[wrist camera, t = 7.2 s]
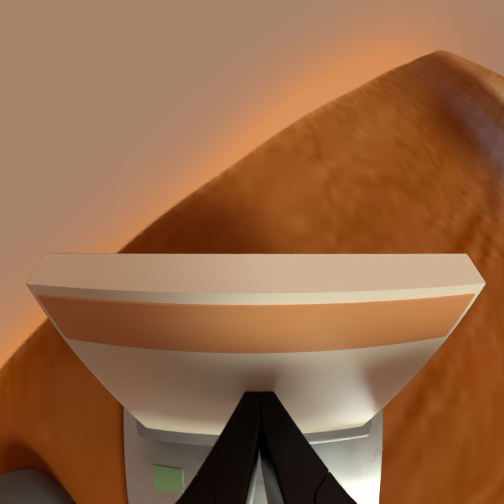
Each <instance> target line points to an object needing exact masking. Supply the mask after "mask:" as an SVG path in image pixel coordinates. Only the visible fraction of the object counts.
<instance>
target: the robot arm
mask: <svg viewBox="0 0 504 504" xmlns="http://www.w3.org/2000/svg"><path fill="white" fill-rule="evenodd" d="M259 453H260V463H261V469H262V475H263V480H264V486H265V492H266V498H267V503H268V504H358V503H357V502H356V501H355V500H354V499H353V498H352V497H351V496H350V495H349V494H348V493H347V492H346V491H345V489H344V488H343V487H342V486H341V485H340V483H339V482H338V481H337V480H336V478H335V477H334V476H333V474H332V473H331V472H328V471H329V469H328V468H327V467H326V465H325V464H324V463H323V461H322V460H321V458H320V457H319V456H318V454H317V453H316V452H315V450H314V449H313V447H312V446H311V445H310V443H309V442H308V440H307V439H306V438H305V436H304V435H303V433H302V432H301V430H300V429H299V428H298V426H297V425H296V423H295V422H294V420H293V419H292V417H291V416H290V415H289V413H288V412H287V410H286V409H285V407H284V406H283V404H282V403H281V401H280V400H279V398H278V397H277V395H276V394H275V392H274V391H261V392H257V391H246V392H244V394H243V395H242V397H241V399H240V401H239V403H238V404H237V406H236V408H235V410H234V411H233V413H232V415H231V417H230V418H229V420H228V422H227V424H226V425H225V427H224V429H223V430H222V432H221V434H220V436H219V437H218V439H217V441H216V442H215V444H214V446H213V447H212V449H211V451H210V452H209V454H208V456H207V457H206V459H205V460H204V462H203V464H202V465H201V467H200V469H199V470H198V472H197V475H195V476H194V478H193V479H192V481H191V483H190V484H189V486H188V487H187V488H186V490H185V491H184V493H183V494H182V495H181V497H180V498H179V499H178V500H177V502H176V503H175V504H253V497H254V490H255V483H256V476H257V469H258V461H259Z"/></svg>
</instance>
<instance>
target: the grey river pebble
mask: <svg viewBox="0 0 504 504" xmlns="http://www.w3.org/2000/svg"><path fill="white" fill-rule="evenodd" d="M0 504H76V503H75V502H74V500H73V499H72V498H71V497H70V495H69V494H68V493H67V492H66V491H65V490H64V489H63V488H62V487H61V486H60V485H59V484H58V483H57V482H56V481H54V480H53V479H52V478H50V477H49V476H47V475H46V474H44V473H42V472H40V471H37V470H34V469H22V470H17V471H13V472H7V473H4V474H2V475H1V476H0Z"/></svg>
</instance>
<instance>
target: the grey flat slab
mask: <svg viewBox="0 0 504 504" xmlns="http://www.w3.org/2000/svg"><path fill="white" fill-rule="evenodd" d="M371 419H372V424H371V430H370V433H369V435H368V436H366V437H360V438H354V439H348V440H341V441H334V442H326V443H317V444H310V445H311V446H312V447H313V449H314V450H315V452H316V453H317V454H318V456H319V457H320V458H321V460H322V461H323V463H324V464H325V465H326V467H327V468H328V469H329V471H328V472H331V473H332V474H333V476H334V477H335V478H336V480H337V481H338V482H339V483H340V485H341V486H342V487H343V488H344V489H345V491H346V492H347V493H348V494H349V495H350V496H351V497H352V498H353V499H354V500H355V501H356V502H357V503H358V504H378V499H379V489H380V477H381V461H382V433H383V408H382V409H381V410H380V411H379V412H378V413H377V414H375V415H374V416H373V417H372V418H371ZM212 447H213V446H206V445H193V444H183V443H174V442H166V441H158V440H152V439H145V438H141V437H140V436H139V435H138V432H137V419H136V418H135V417H134V416H133V415H132V414H131V413H130V412H129V411H128V410H127V409H126V408H125V407H124V454H125V471H126V484H127V494H128V503H129V504H175V503H176V502H177V500H178V499H179V498H180V497H181V495H182V494H183V493H184V491H185V490H186V488H187V487H188V486H189V484H190V483H191V481H192V479H193V478H194V476H195V475H197V472H198V470H199V469H200V467H201V465H202V464H203V462H204V460H205V459H206V457H207V456H208V454H209V452H210V451H211V449H212ZM253 504H268V503H267V498H266V492H265V486H264V480H263V475H262V469H261V463H260V453H259V461H258V469H257V476H256V483H255V490H254V497H253Z"/></svg>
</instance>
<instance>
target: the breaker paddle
mask: <svg viewBox="0 0 504 504" xmlns="http://www.w3.org/2000/svg"><path fill="white" fill-rule="evenodd" d="M485 284H486V283H485V281H484V280H483V278H482V276H481V275H480V273H479V272H478V270H477V269H476V267H475V266H474V264H473V263H472V261H471V260H470V258H469V257H468V255H467V254H64V253H63V254H62V253H59V254H57V253H56V254H55V253H54V254H53V253H50V254H49V253H46V254H45V255H44V256H43V258H42V259H41V261H40V263H39V264H38V266H37V267H36V269H35V270H34V272H33V274H32V275H31V277H30V279H29V280H28V282H27V286H28V287H29V289H30V291H31V292H32V294H33V295H34V297H35V299H36V300H37V302H38V303H39V305H40V306H41V307H42V309H43V311H44V312H45V313H46V315H47V316H48V318H49V319H50V321H51V322H52V324H53V325H54V326H55V328H56V329H57V330H58V332H59V333H60V334H61V336H62V337H63V338H64V340H65V341H66V342H67V344H68V345H69V346H70V347H71V349H72V350H73V351H74V352H75V354H76V355H77V356H78V357H79V358H80V360H81V361H82V362H83V363H84V364H85V366H86V367H87V368H88V369H89V370H90V371H91V373H92V374H93V375H94V376H95V377H96V378H97V379H98V380H99V381H100V383H101V384H102V385H103V386H104V387H105V388H106V389H107V390H108V391H109V392H110V393H111V394H112V395H113V396H114V397H115V398H116V399H117V400H118V401H119V402H120V403H121V404H122V405H123V406H124V407H125V408H126V409H127V410H128V411H129V412H130V413H131V414H132V415H133V416H134V417H135V418H136V419H137V432H138V435H139V436H140V437H141V438H145V439H152V440H158V441H166V442H174V443H183V444H193V445H206V446H214V444H215V442H216V441H217V439H218V437H219V436H220V434H221V432H222V430H223V429H224V427H225V425H226V424H227V422H228V420H229V418H230V417H231V415H232V413H233V411H234V410H235V408H236V406H237V404H238V403H239V401H240V399H241V397H242V395H243V394H244V392H246V391H257V392H261V391H274V392H275V394H276V395H277V397H278V398H279V400H280V401H281V403H282V404H283V406H284V407H285V409H286V410H287V412H288V413H289V415H290V416H291V417H292V419H293V420H294V422H295V423H296V425H297V426H298V428H299V429H300V430H301V432H302V433H303V435H304V436H305V438H306V439H307V440H308V442H309V443H310V444H317V443H326V442H334V441H341V440H348V439H354V438H360V437H366V436H368V435H369V433H370V430H371V424H372V419H371V418H372V417H373V416H374V415H375V414H377V413H378V412H379V411H380V410H381V409H382V408H383V407H384V406H385V405H386V404H387V403H388V402H389V401H390V400H391V399H392V398H394V397H395V396H396V395H397V394H398V393H399V392H400V391H401V390H402V389H403V388H404V386H405V385H406V384H407V383H408V382H409V381H410V380H411V379H412V378H413V377H414V376H415V375H416V374H417V373H418V372H419V371H420V369H421V368H422V367H423V366H424V365H425V364H426V363H427V362H428V360H429V359H430V358H431V357H432V356H433V355H434V353H435V352H436V351H437V350H438V349H439V347H440V346H441V345H442V344H443V343H444V341H445V340H446V339H447V338H448V336H449V335H450V334H451V332H452V331H453V330H454V328H455V327H456V326H457V324H458V323H459V322H460V320H461V319H462V318H463V316H464V315H465V314H466V312H467V311H468V309H469V308H470V306H471V305H472V303H473V302H474V301H475V299H476V298H477V296H478V294H479V293H480V291H481V290H482V288H483V287H484V285H485Z"/></svg>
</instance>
